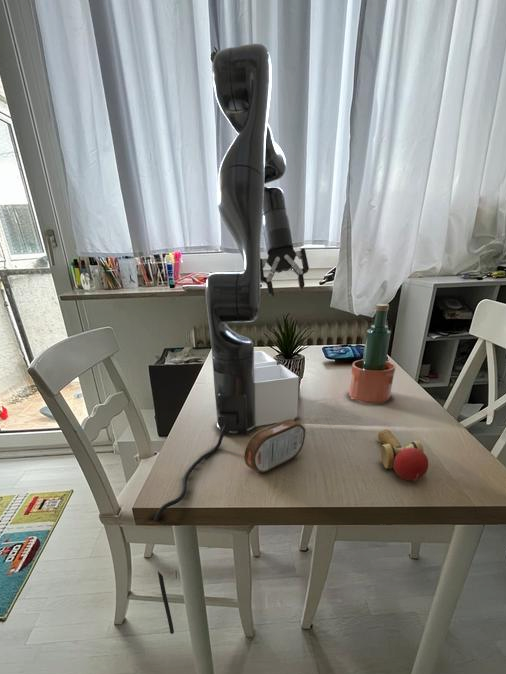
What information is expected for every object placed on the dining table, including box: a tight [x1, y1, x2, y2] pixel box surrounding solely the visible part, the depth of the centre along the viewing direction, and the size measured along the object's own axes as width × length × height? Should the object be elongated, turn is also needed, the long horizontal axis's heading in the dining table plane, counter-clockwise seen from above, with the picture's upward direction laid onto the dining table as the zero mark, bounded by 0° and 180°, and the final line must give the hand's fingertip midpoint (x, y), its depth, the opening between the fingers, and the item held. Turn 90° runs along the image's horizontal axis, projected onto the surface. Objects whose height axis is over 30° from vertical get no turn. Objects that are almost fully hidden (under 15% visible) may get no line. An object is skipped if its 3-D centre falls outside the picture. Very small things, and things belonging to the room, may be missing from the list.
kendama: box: [377, 428, 430, 482], centre depth 77 cm, size 8×6×18 cm
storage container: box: [254, 350, 300, 427], centre depth 103 cm, size 25×11×11 cm, turn 18°
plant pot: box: [348, 359, 397, 404], centre depth 106 cm, size 11×11×9 cm
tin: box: [243, 419, 306, 474], centre depth 77 cm, size 15×3×8 cm, turn 131°
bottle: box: [362, 303, 392, 371], centre depth 102 cm, size 6×6×23 cm
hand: (287, 293), depth 114 cm, fingers open, 8 cm apart
